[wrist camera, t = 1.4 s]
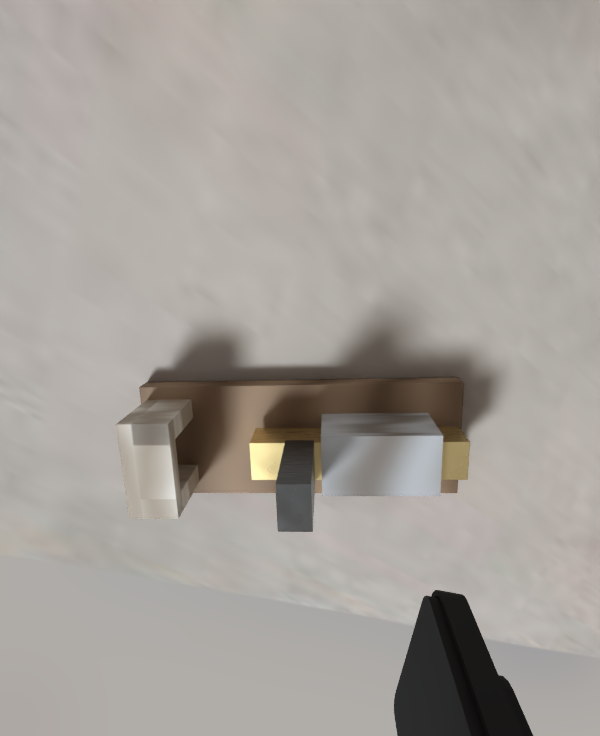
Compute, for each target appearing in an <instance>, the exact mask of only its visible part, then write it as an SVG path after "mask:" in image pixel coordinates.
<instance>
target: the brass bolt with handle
mask: <svg viewBox="0 0 600 736" xmlns="http://www.w3.org/2000/svg"><path fill="white" fill-rule="evenodd" d="M438 428H439V430H440V431H441V433H442V434H443V451H442V471H441V480H467V478H468V463H469V448H470V441H469V440H468V439H467V438H466V436H465V435H464V434H463V432H462V431H461V430H460V429H459V427H458V426H442V427H438ZM249 445H250V461H251V476H252V480H276V503H277V523H278V531H281V532H313V513H314V492H315V480H322V462H321V428H255V431H254V433H253V436H252V438H251V441H250V443H249Z"/></svg>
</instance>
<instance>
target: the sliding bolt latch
mask: <svg viewBox="0 0 600 736" xmlns="http://www.w3.org/2000/svg"><path fill="white" fill-rule="evenodd" d="M139 389H140V397H141V405H140V406H139V407H137V408H136V409H135V410H134V411H132V412H131V413H130V414H129V415H127V416H126V417H125V418H124V419H122V420H121V421H120V422H119V423H117V424H116V428H117V435H118V442H119V449H120V456H121V463H122V470H123V477H124V484H125V491H126V498H127V505H128V512H129V518H144V519H178V518H179V517H180V515H181V513H182V511H183V510H184V508H185V506H186V504H187V503H188V501H189V499H190V497H191V496H192V494H193V493H276V480H252V476H251V461H250V445H249V443H250V441H251V438H252V436H253V433H254V431H255V428H321V462H322V480H315V492H314V493H322V496H440V493H457V488H458V480H441V471H442V451H443V434H442V433H441V431H440V430H439V428H438V427H442V426H458V427H459V429H460V430H461V422H462V405H463V389H464V382H462V381H461V380H460V379H459V378H458V377H449V378H385V379H321V380H257V381H194V382H147V383H145V384H144V385H142V386H141V387H139Z"/></svg>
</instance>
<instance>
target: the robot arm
mask: <svg viewBox="0 0 600 736" xmlns="http://www.w3.org/2000/svg"><path fill="white" fill-rule="evenodd" d="M394 714H395V721H396V728H397V735H398V736H533V734H532V732H531V730H530V728H529V725H528V723H527V721H526V718H525V716H524V714H523V711H522V709H521V707H520V705H519V702H518V700H517V698H516V695H515V693H514V691H513V689H512V687H511V686H510V683H509V682H508V681H507V680H506V679H505V678H504V677H503V676H499V675H498V674H497V671H496V669H495V666H494V664H493V662H492V659H491V657H490V654H489V652H488V650H487V647H486V645H485V642H484V640H483V638H482V635H481V633H480V630H479V628H478V626H477V623H476V621H475V618H474V616H473V614H472V611H471V609H470V606H469V604H468V602H467V600H466V598H465V596H463V595H461V594H456V593H450V592H445V591H440V590H435V591H434V592H433V594H432V596H431V597H430V596H425V597H424V598H423V601H422V604H421V608H420V611H419V614H418V618H417V621H416V625H415V628H414V632H413V635H412V638H411V642H410V645H409V649H408V652H407V655H406V659H405V662H404V666H403V669H402V673H401V676H400V680H399V683H398V686H397V690H396V693H395V700H394Z"/></svg>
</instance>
